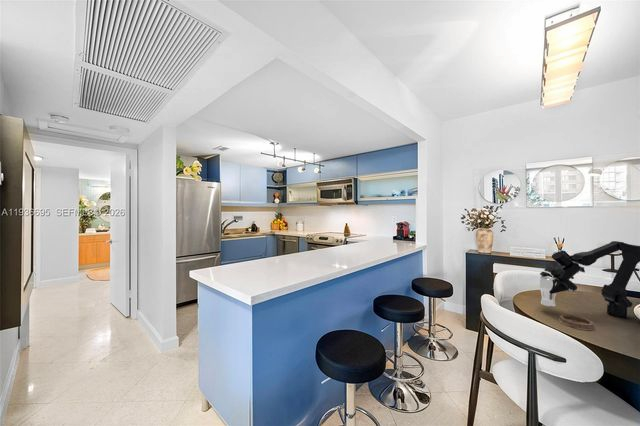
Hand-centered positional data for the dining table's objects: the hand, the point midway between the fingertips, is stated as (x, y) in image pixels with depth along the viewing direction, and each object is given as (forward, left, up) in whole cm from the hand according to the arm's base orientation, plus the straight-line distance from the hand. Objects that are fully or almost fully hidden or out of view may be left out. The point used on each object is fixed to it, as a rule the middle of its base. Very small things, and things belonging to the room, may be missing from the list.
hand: (545, 291), depth 137 cm
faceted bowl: (-12, +8, -12) cm, 19 cm away
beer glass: (-1, -1, -8) cm, 8 cm away
